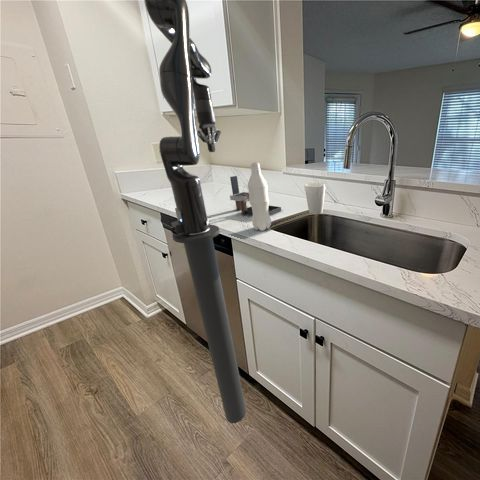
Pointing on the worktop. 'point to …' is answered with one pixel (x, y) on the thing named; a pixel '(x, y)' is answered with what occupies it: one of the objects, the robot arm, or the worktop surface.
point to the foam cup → (315, 197)
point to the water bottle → (259, 198)
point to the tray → (271, 210)
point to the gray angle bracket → (237, 191)
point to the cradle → (241, 206)
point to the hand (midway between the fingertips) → (212, 151)
